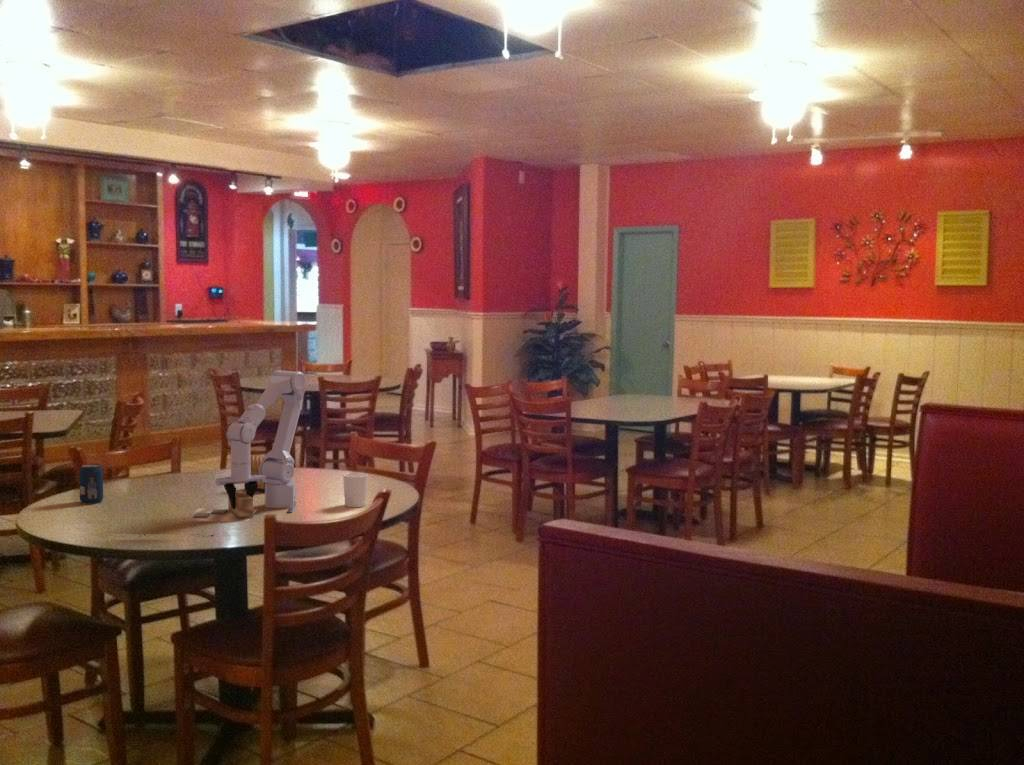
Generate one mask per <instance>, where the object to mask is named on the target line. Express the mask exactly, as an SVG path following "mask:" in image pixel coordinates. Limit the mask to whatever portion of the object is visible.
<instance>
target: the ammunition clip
mask: <svg viewBox="0 0 1024 765" xmlns="http://www.w3.org/2000/svg"><path fill="white" fill-rule="evenodd" d="M264 457H265V456H263V457H262V458H261V456H258V457H257V456H256V455H255V456H253V455H251V475H260V474H259V468H260V465H261V463H262V462H263V460H264ZM257 484H258V488H257V489H256V491H255V492H259V493H264V494H265V482H257ZM244 490H245V491H246V483H244Z"/></svg>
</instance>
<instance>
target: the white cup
mask: <svg viewBox="0 0 1024 765" xmlns="http://www.w3.org/2000/svg"><path fill="white" fill-rule="evenodd" d="M342 477H343V497H344V506H346V507H348V508H362V507H363V508H364V507H366V505H367V495H368V485H369V484H368V483H369V482H368V481H369V474H367V473H364V472H348V473H344V474H343V476H342Z"/></svg>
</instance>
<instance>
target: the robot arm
mask: <svg viewBox="0 0 1024 765" xmlns="http://www.w3.org/2000/svg"><path fill="white" fill-rule="evenodd" d="M307 385H308V380H307V378H306V377H305V374H304V373H303V372H302V371H299V370H298V371H293V370H292V371H291V370H290V371H287V370H281V369H276V370H274V371H273V372H272V374H271V375H270V376H269V378H268V385H267V386H266V387H265V390H264V391H263V392H262V394H261V395H260V396H259V398H258V399H257V402H256V403H251V404H249V405H248V406H247V407H246V410H245V411H243V413H242V415H241V416H240V417H239V418H238V420H237V421H235V422H233V423H231V424H230V425H229V426H228V428H227V429H226V430H227V431H226V432H225V434H226V435H225V436H226V439H227V440H228V446H229V448H230V476H226V477H217V478H215V485H216V486H217V487H220V486H223V487H224V490H225V491H226V493H227V496H229V499H230V503H231V508H233V509H235V506H236V503H235V494H236V491H237V487H236V486H235V485H239V484H245V483H246V490H245V493H246V494H247V495H249V496H250V497H252V498H253V499H254V495H255V493H256V492H257V491H256V489H257V488H258V484H257V482H265V493H264V507H265V508H269V509H280V508H283V509H286V508H287V511H286V513H293V512H294V511H295V509H296V507H297V501H296V500H297V498H296V497H297V496H296V495H297V491H296V490H297V488H296V482H294V481H293V482H291V481H292V479H293V477H294V475H295V468H294V466H295V459H294V458H293V456H292V455H291V454H290V453H291V449H292V446H293V441H294V438H295V433H296V429H297V425H298V421H299V418H300V415H301V411H302V406H303V403H304V396H305V392H306V388H307ZM278 397H281V398H282V400H283V401H284V404H283V406H282V411H281V415H280V419H279V423H278V425H277V426H278V427H277V431H276V434H275V437H274V442H273V445H272V448H271V450H269V451H268V452H267V453H266V454H264V456H263V457H264V460H263V462H262V461H261V465H260V468H259V474H260V475H251V456H252V455H251V454H252V453H251V452H252V450H251V442H252V441H254V439H255V437H256V432H257V428H258V427H259V425H260V424H261V423H262V421H264V419H265V418H266V415H267V414H266V410H267V409H268V408H269V407H270V406H271V405H272V404H273V402H275V400H276V399H277V398H278Z"/></svg>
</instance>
